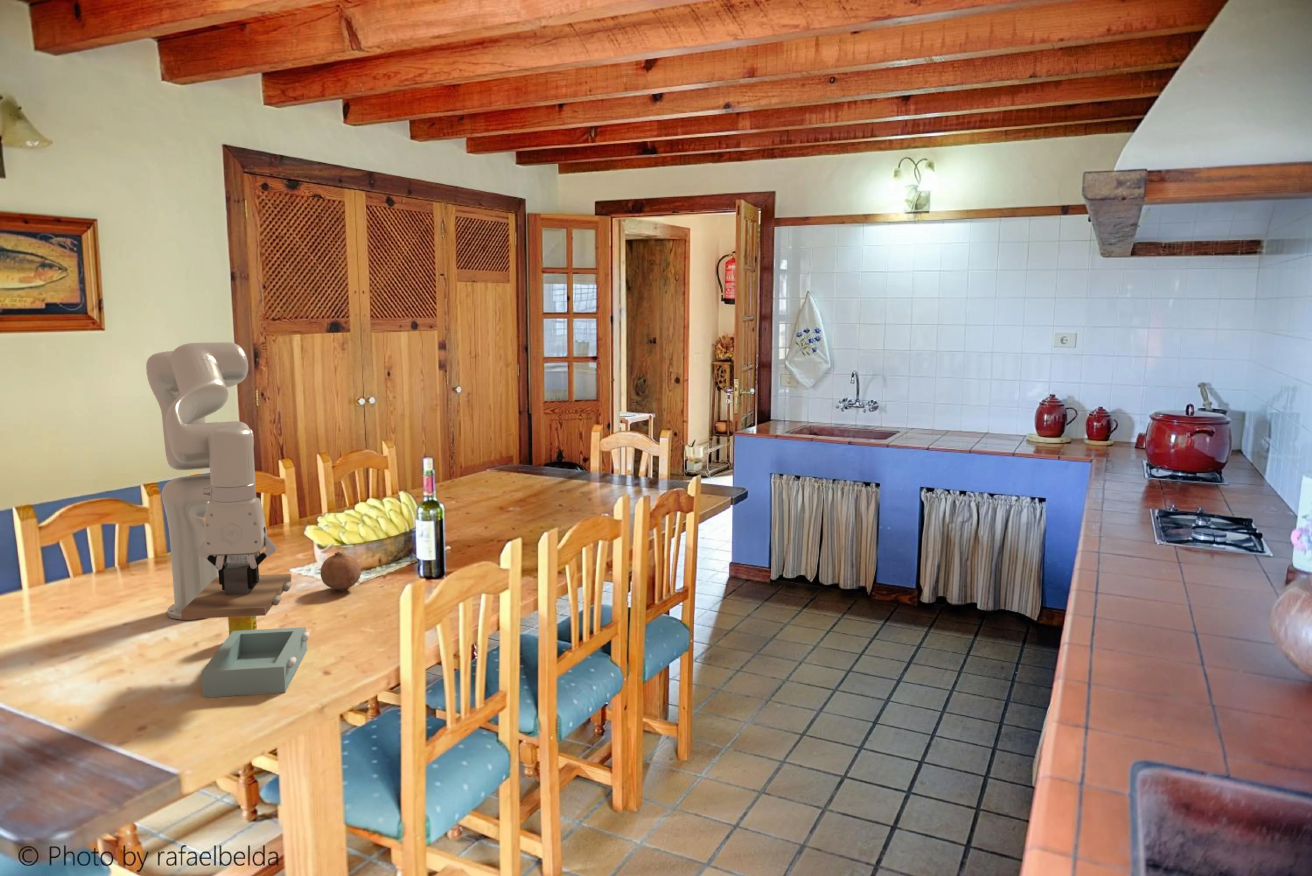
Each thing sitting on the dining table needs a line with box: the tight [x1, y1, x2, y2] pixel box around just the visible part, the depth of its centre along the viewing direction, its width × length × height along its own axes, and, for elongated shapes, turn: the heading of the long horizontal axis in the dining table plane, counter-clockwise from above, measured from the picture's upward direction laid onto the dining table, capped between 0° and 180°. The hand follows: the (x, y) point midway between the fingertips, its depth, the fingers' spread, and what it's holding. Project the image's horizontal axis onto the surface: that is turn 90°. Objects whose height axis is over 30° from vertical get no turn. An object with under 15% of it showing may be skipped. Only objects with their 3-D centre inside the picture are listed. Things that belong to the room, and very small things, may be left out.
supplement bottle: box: [227, 616, 258, 636], centre depth 184 cm, size 5×5×10 cm
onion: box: [320, 551, 362, 592], centre depth 217 cm, size 10×9×10 cm
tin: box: [227, 551, 261, 565], centre depth 236 cm, size 15×3×8 cm, turn 58°
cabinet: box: [201, 626, 311, 699], centre depth 169 cm, size 20×15×5 cm
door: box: [181, 563, 293, 620], centre depth 166 cm, size 20×15×6 cm
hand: (239, 586), depth 166 cm, fingers closed on door, 4 cm apart
